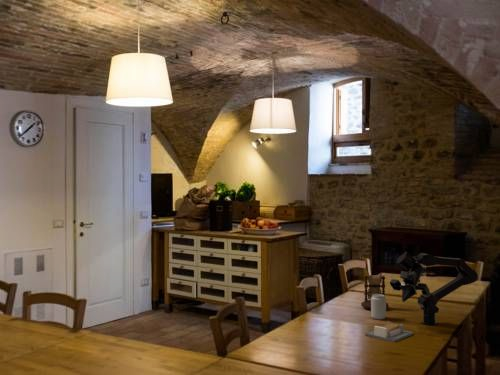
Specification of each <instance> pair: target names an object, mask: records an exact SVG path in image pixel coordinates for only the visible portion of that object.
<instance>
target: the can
mask: <svg viewBox="0 0 500 375" xmlns="http://www.w3.org/2000/svg"><path fill="white" fill-rule="evenodd" d="M370 300H371V308H370V315H371V318H372V319H373V320H384V319H386V318H387V308H386V303H387V298H386V296H385V297H384V295H382V293H381V294H373V295H372V297H371V299H370Z"/></svg>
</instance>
